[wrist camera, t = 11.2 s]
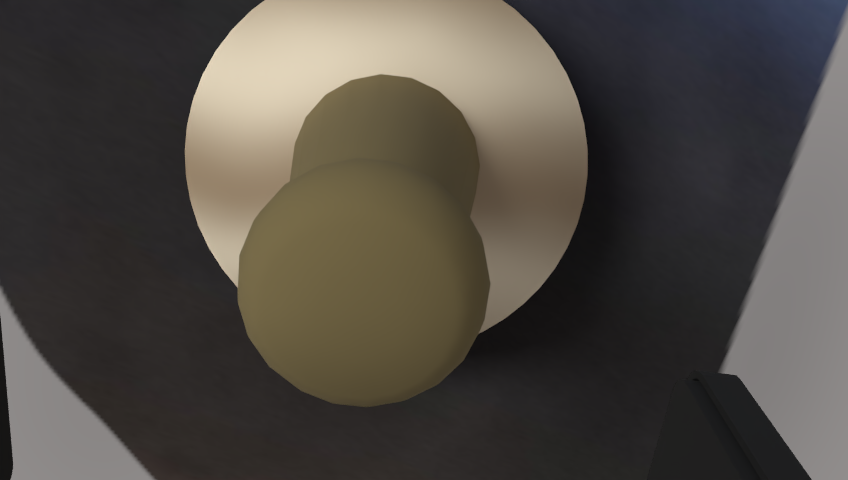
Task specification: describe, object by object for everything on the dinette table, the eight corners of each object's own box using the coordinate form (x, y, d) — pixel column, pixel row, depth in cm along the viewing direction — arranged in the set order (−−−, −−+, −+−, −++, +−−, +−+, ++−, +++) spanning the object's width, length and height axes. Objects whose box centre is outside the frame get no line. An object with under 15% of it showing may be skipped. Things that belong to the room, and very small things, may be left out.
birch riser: (223, -62, 26) (189, -67, 22) (598, -12, 26) (627, -7, 23) (211, 285, 30) (181, 331, 27) (532, 323, 31) (547, 373, 27)
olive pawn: (316, 50, 23) (229, 121, 13) (504, 104, 24) (564, 214, 14) (274, 229, 25) (170, 414, 15) (449, 275, 26) (464, 485, 16)
